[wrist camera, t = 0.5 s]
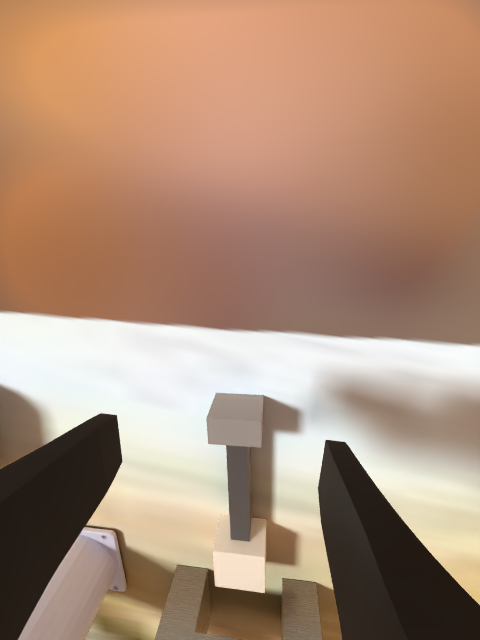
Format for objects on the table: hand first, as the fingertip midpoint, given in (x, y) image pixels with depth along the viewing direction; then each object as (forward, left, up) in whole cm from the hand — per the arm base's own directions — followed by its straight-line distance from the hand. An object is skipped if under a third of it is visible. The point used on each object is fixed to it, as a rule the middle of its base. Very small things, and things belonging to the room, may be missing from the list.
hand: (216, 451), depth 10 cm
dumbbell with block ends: (-1, -12, -10) cm, 16 cm away
